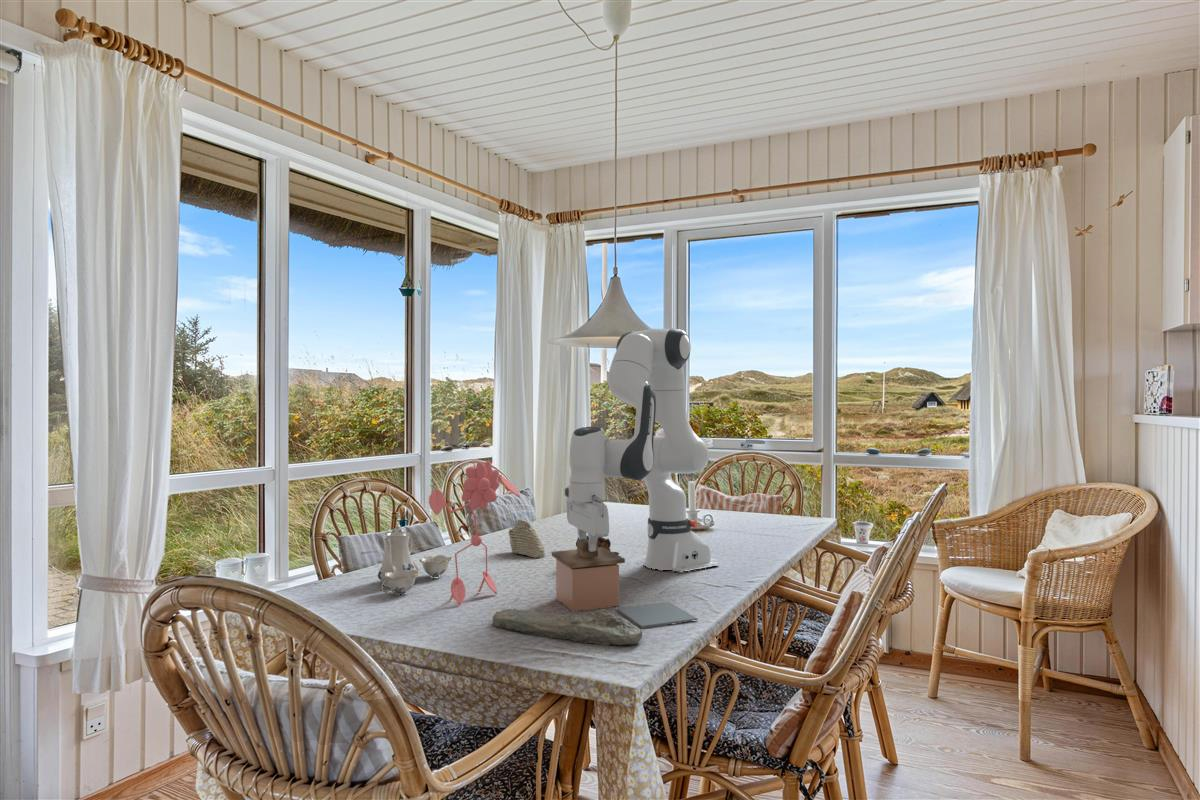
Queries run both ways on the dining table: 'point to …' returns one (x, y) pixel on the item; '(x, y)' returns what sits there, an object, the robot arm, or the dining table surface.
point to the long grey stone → (571, 626)
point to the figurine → (479, 494)
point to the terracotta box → (587, 586)
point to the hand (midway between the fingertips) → (587, 548)
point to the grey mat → (655, 614)
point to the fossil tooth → (525, 540)
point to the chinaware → (405, 563)
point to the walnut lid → (587, 556)
